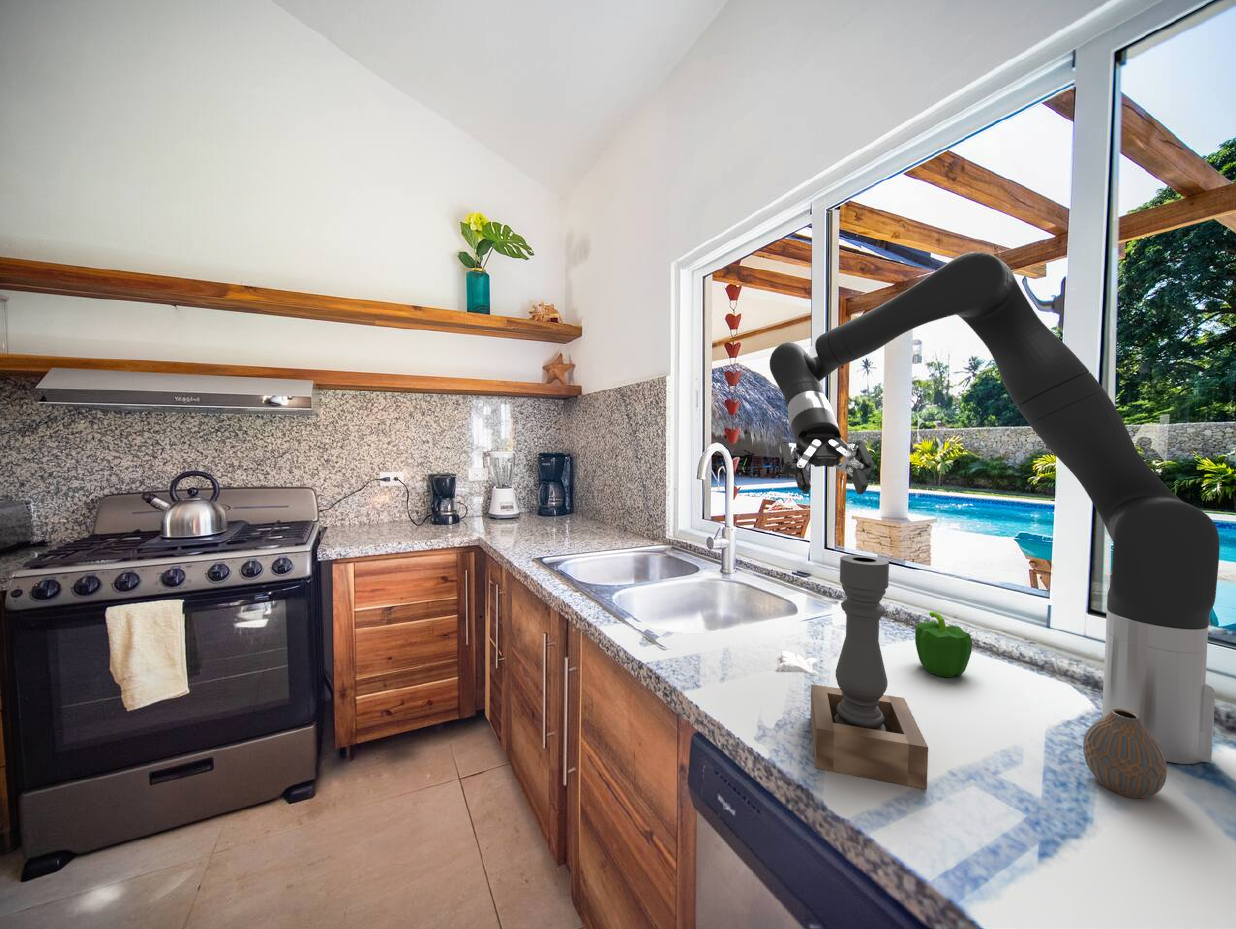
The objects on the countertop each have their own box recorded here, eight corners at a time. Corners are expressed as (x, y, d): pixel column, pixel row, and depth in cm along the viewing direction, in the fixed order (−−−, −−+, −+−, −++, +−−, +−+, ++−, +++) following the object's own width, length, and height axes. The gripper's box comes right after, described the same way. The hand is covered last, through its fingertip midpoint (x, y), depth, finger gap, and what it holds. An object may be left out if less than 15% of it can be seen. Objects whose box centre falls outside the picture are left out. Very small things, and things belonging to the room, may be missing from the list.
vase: (1079, 760, 64) (1082, 693, 63) (1158, 784, 59) (1162, 711, 59) (1084, 789, 58) (1087, 715, 58) (1171, 817, 54) (1175, 738, 54)
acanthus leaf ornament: (777, 674, 88) (777, 664, 88) (776, 658, 95) (776, 648, 95) (823, 680, 86) (823, 669, 86) (818, 663, 93) (819, 653, 93)
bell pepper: (979, 684, 84) (981, 626, 83) (925, 679, 86) (927, 622, 85) (956, 663, 92) (958, 609, 92) (907, 659, 94) (909, 606, 93)
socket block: (903, 733, 69) (904, 697, 69) (926, 789, 58) (928, 747, 58) (810, 717, 73) (811, 684, 73) (815, 767, 62) (816, 728, 62)
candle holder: (830, 753, 65) (835, 561, 64) (835, 730, 70) (840, 552, 69) (885, 769, 62) (891, 567, 61) (886, 743, 67) (891, 558, 66)
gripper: (776, 405, 88) (794, 474, 77) (859, 406, 87) (889, 475, 76) (768, 436, 93) (784, 505, 82) (846, 437, 92) (872, 506, 81)
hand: (834, 490), depth 79 cm, fingers open, 8 cm apart
